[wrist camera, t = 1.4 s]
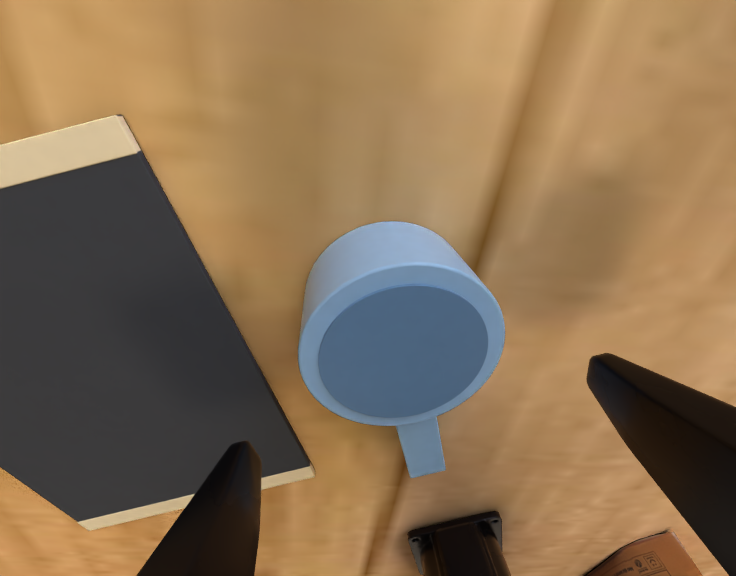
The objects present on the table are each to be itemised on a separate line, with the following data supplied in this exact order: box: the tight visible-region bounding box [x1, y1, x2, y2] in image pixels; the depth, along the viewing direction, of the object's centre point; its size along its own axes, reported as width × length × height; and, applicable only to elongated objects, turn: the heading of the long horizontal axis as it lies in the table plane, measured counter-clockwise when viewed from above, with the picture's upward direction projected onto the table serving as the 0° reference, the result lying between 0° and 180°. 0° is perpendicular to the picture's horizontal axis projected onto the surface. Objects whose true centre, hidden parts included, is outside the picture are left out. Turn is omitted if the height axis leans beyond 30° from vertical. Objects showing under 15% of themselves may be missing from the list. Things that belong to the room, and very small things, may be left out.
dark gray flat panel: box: [0, 115, 315, 531], centre depth 14 cm, size 18×13×1 cm
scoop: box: [298, 221, 505, 478], centre depth 13 cm, size 12×6×4 cm, turn 13°
